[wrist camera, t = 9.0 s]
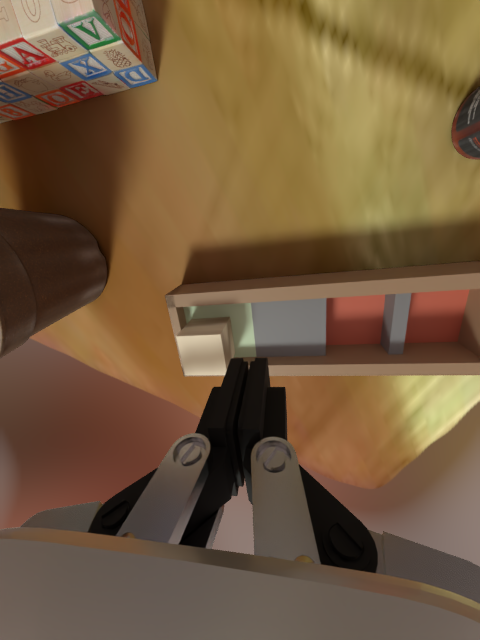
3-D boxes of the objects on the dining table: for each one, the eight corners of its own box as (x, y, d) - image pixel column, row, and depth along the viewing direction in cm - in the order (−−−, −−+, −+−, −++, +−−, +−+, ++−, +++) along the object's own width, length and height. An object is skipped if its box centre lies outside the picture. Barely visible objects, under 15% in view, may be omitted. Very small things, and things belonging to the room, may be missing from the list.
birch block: (191, 318, 31) (175, 336, 27) (229, 316, 30) (220, 334, 26) (198, 353, 33) (185, 375, 28) (235, 352, 32) (227, 374, 28)
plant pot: (17, 294, 38) (-151, 343, 23) (8, 179, 31) (-236, 145, 17) (116, 330, 37) (8, 403, 23) (128, 220, 31) (-14, 224, 16)
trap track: (181, 284, 33) (164, 295, 28) (484, 260, 26) (526, 269, 22) (196, 356, 37) (183, 376, 32) (462, 351, 30) (494, 375, 26)
